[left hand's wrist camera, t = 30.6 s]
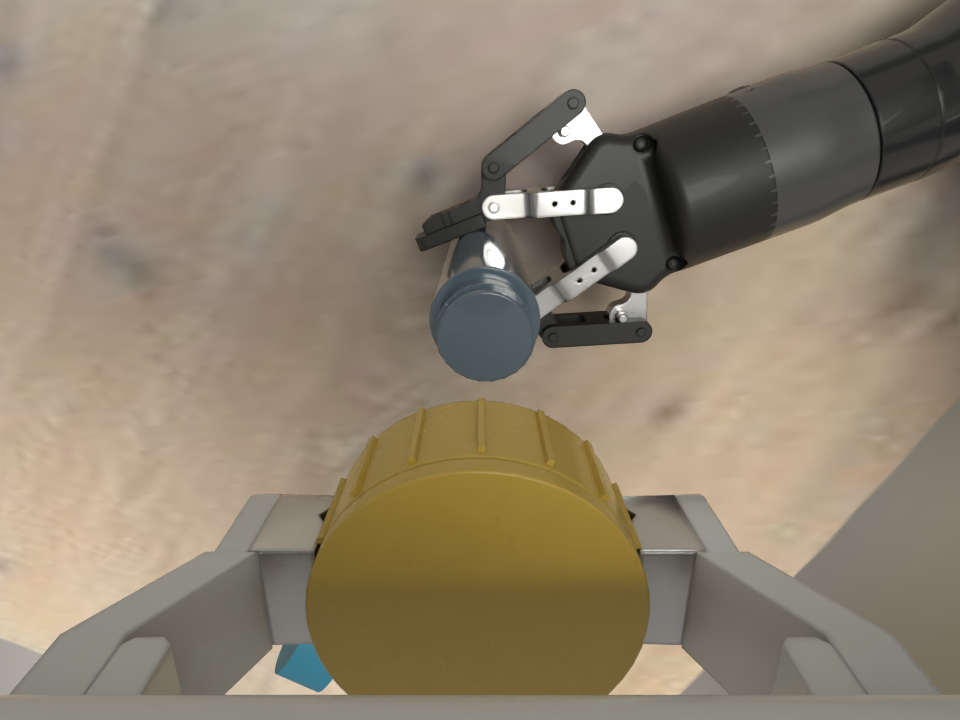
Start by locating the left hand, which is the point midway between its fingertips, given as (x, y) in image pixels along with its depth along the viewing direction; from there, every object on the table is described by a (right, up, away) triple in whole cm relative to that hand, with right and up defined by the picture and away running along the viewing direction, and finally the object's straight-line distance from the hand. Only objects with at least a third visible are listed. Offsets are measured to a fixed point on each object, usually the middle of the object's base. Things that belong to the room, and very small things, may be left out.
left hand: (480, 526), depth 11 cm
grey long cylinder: (0, +10, +28) cm, 30 cm away
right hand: (-2, +7, +22) cm, 23 cm away
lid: (0, -1, -2) cm, 2 cm away
